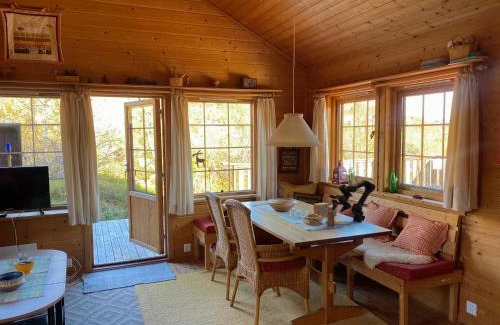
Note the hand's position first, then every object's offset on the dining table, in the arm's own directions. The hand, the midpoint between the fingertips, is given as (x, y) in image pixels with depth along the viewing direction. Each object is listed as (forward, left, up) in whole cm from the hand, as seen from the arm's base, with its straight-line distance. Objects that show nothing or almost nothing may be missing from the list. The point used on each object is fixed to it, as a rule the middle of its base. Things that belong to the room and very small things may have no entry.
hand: (336, 211), depth 321 cm
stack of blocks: (+2, -35, -12) cm, 37 cm away
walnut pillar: (+5, +3, -12) cm, 13 cm away
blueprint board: (-3, -6, -12) cm, 14 cm away
